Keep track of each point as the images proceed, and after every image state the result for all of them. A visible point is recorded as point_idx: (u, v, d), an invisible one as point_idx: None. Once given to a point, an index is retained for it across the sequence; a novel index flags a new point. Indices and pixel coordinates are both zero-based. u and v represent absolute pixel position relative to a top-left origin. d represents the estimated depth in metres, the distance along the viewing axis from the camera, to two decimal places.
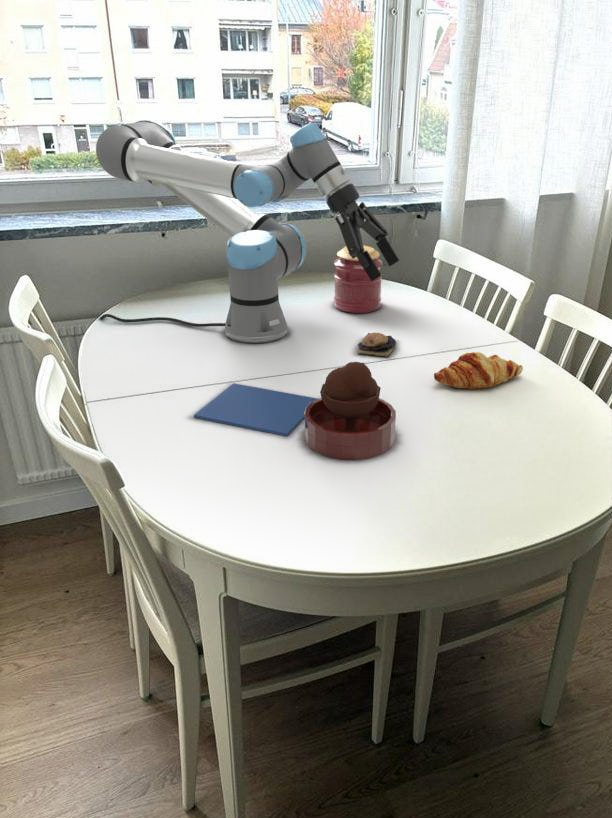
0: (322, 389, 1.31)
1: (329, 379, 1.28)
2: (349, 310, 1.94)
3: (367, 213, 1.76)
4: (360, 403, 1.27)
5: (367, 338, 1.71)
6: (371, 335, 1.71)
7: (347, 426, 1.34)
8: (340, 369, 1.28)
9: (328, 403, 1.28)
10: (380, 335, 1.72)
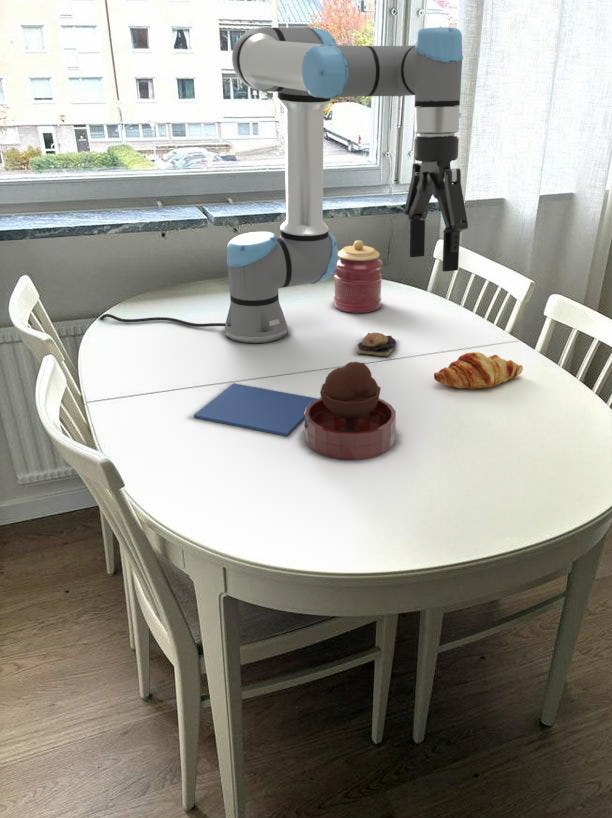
0: (322, 389, 1.31)
1: (329, 379, 1.28)
2: (349, 310, 1.94)
3: None
4: (360, 403, 1.27)
5: (367, 338, 1.71)
6: (371, 335, 1.71)
7: (347, 426, 1.34)
8: (340, 369, 1.28)
9: (328, 403, 1.28)
10: (380, 335, 1.72)
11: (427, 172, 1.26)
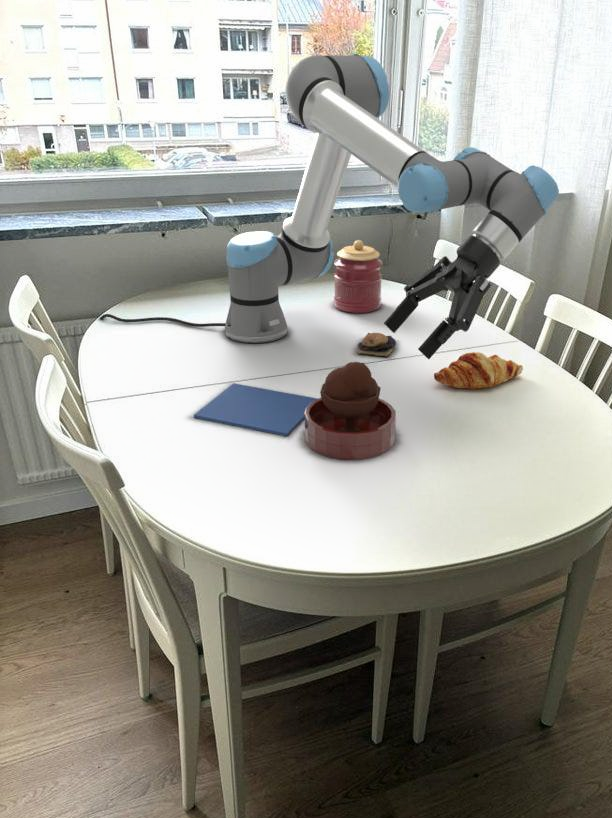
0: (322, 389, 1.31)
1: (329, 379, 1.28)
2: (349, 310, 1.94)
3: None
4: (360, 403, 1.27)
5: (367, 338, 1.71)
6: (371, 335, 1.71)
7: (347, 426, 1.34)
8: (340, 369, 1.28)
9: (328, 403, 1.28)
10: (380, 335, 1.72)
11: (457, 268, 1.28)
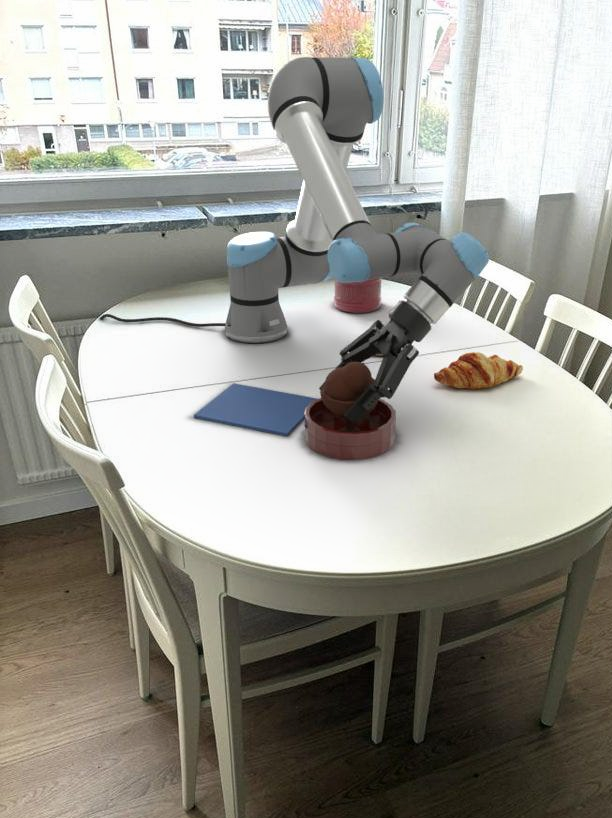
0: (322, 389, 1.31)
1: (329, 379, 1.28)
2: (349, 310, 1.94)
3: None
4: None
5: None
6: None
7: (347, 426, 1.34)
8: (340, 369, 1.28)
9: (328, 403, 1.28)
10: None
11: (389, 332, 1.29)
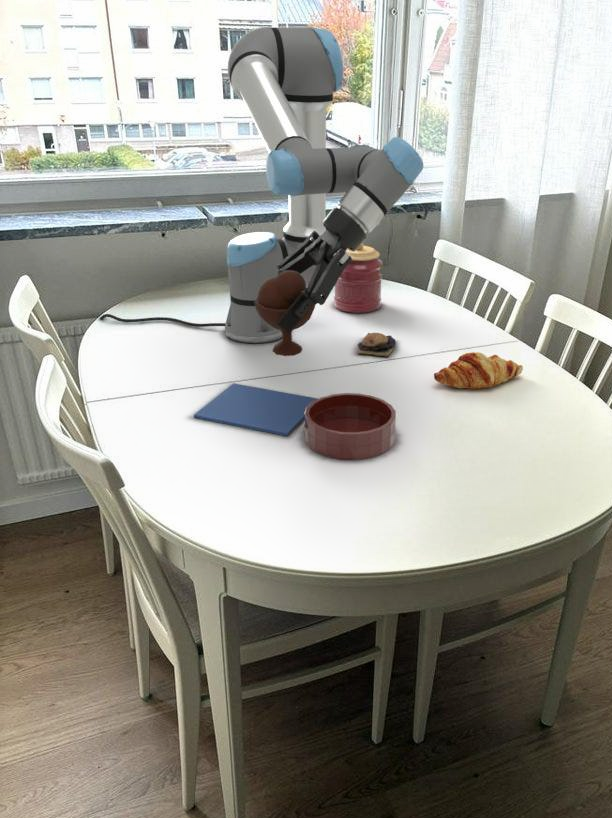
0: (257, 299, 1.29)
1: (262, 288, 1.26)
2: (349, 310, 1.94)
3: None
4: None
5: (367, 338, 1.71)
6: (371, 335, 1.71)
7: (284, 339, 1.33)
8: (274, 278, 1.27)
9: (262, 312, 1.27)
10: (380, 335, 1.72)
11: (324, 241, 1.28)
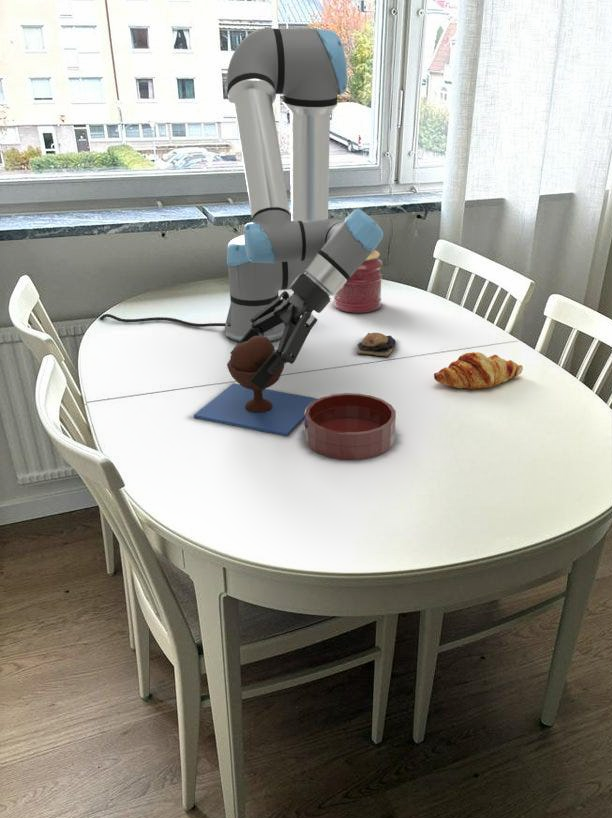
0: (229, 362, 1.39)
1: (234, 352, 1.37)
2: (349, 310, 1.94)
3: None
4: None
5: (367, 338, 1.71)
6: (371, 335, 1.71)
7: (255, 397, 1.43)
8: (245, 342, 1.37)
9: (233, 374, 1.37)
10: (380, 335, 1.72)
11: (291, 303, 1.38)
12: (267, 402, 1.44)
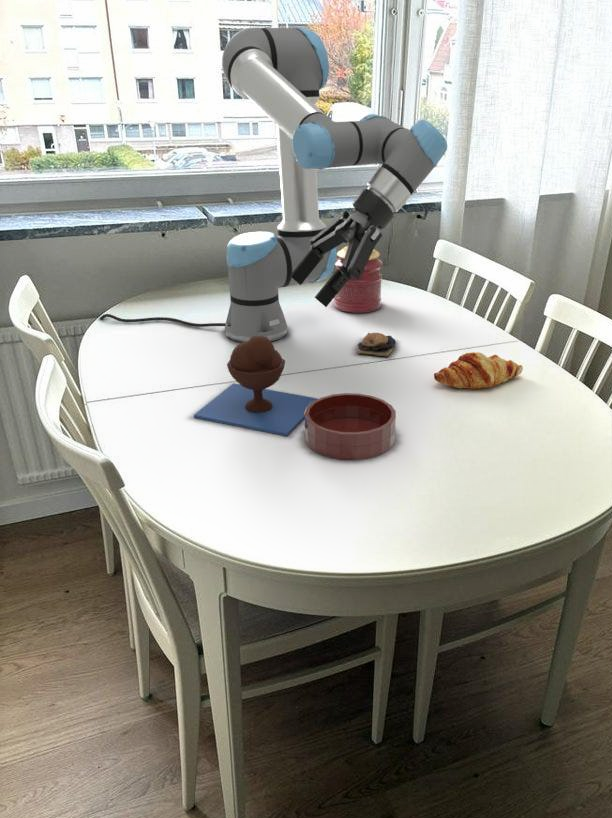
0: (229, 362, 1.39)
1: (234, 352, 1.37)
2: (349, 310, 1.94)
3: None
4: (262, 374, 1.36)
5: (367, 338, 1.71)
6: (371, 335, 1.71)
7: (255, 397, 1.43)
8: (245, 342, 1.37)
9: (233, 374, 1.37)
10: (380, 335, 1.72)
11: (354, 220, 1.35)
12: (267, 402, 1.44)
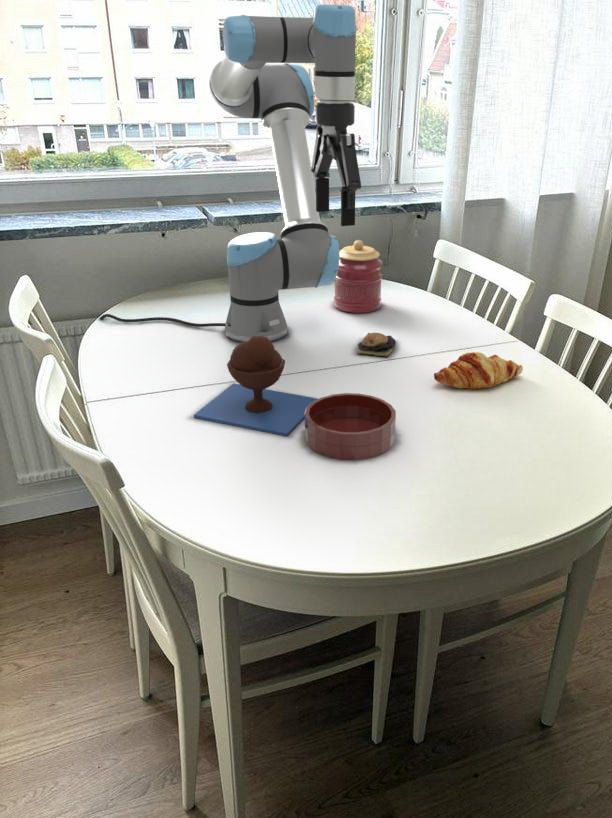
0: (229, 362, 1.39)
1: (234, 352, 1.37)
2: (349, 310, 1.94)
3: None
4: (262, 374, 1.36)
5: (367, 338, 1.71)
6: (371, 335, 1.71)
7: (255, 397, 1.43)
8: (245, 342, 1.37)
9: (233, 374, 1.37)
10: (380, 335, 1.72)
11: (327, 135, 1.41)
12: (267, 402, 1.44)
